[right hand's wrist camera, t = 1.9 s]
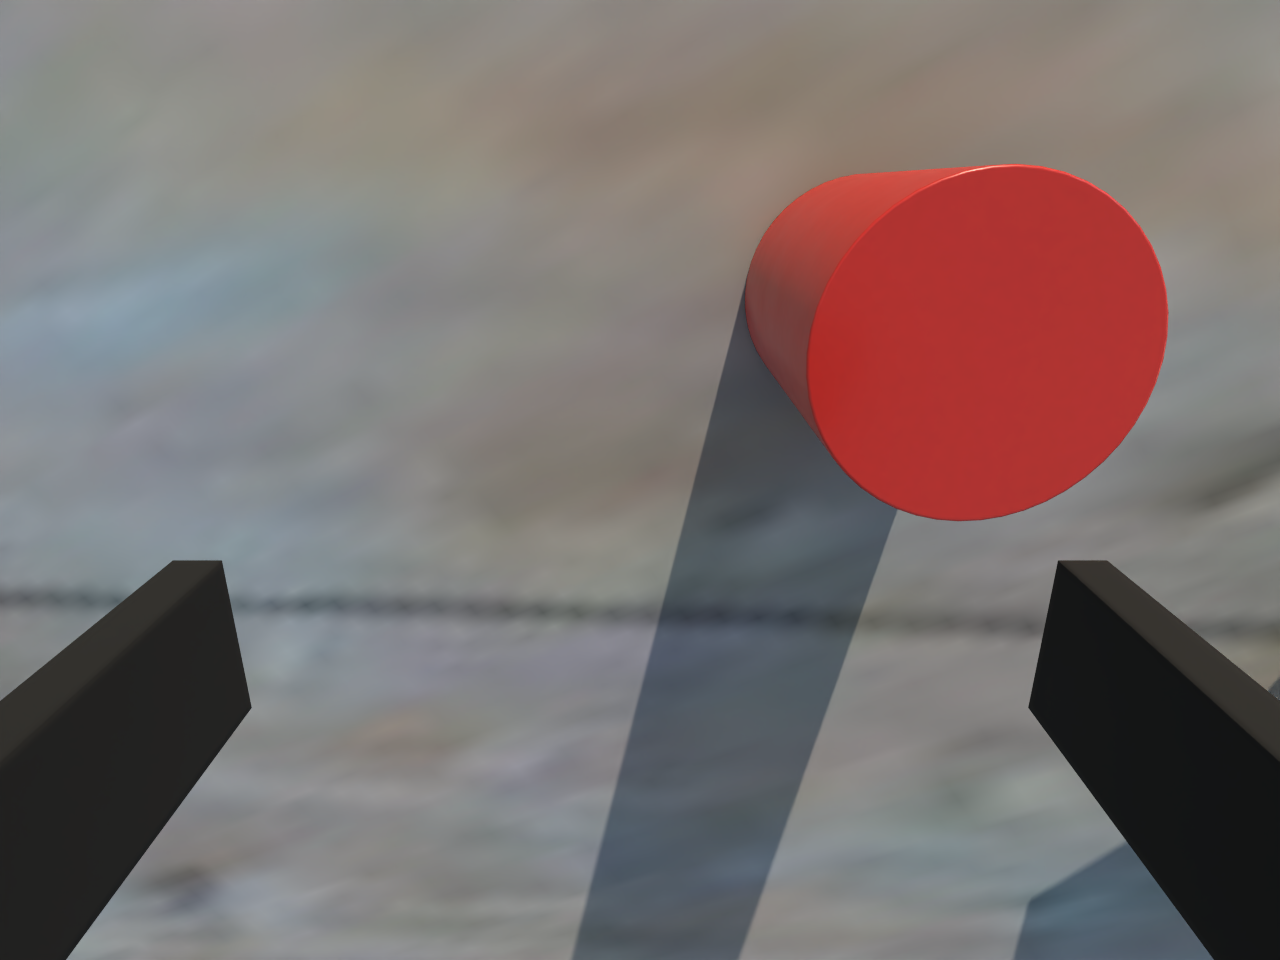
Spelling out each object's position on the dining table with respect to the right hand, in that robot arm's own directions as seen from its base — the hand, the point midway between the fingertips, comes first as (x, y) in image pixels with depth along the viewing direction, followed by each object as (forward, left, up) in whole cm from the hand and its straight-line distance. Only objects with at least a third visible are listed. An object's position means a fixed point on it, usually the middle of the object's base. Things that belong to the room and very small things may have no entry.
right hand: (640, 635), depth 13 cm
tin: (-1, -9, -21) cm, 22 cm away
